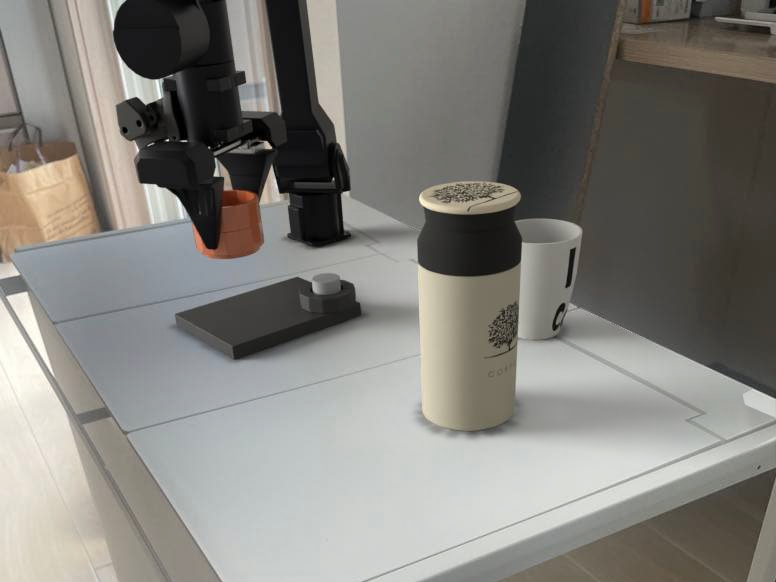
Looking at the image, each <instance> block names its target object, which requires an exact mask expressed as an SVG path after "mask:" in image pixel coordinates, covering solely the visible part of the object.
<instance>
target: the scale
mask: <svg viewBox="0 0 776 582" xmlns="http://www.w3.org/2000/svg"><path fill="white" fill-rule="evenodd" d="M340 283H341V292H338V293H335V294H329V295H318V294H314V293H313V286H312V281H309V280H307V279H304V278H302V277H299V276H295V277H292V278H288V279H285V280H282V281H279V282H276V283H272V284H268V285H266V286H261V287H258V288H256V289H252V290H249V291H246V292H242V293H239V294H236V295H233V296H229V297H226V298H222V299H219V300H216V301H212V302H210V303H206V304H202V305H200V306H197V307H196V306H195V307H193V308H190V309H187V310H183V311H180V312H176V313H174V319H175V324H176V327H177V328H179V329H181V330H183V331H185V332H186V333H188V334H189V335H191V336H193V337H195V338H196V339H198V340H200V341H202V342H203V343H204V344H207V345H208V346H210V347H212V348H214V349H215V350H217V351H219V352H221V353H222V354H224V355H226V356H228V357H229V358H231V359H232V360H237V359H240V358H244V357H246V356H248V355H252V354H254V353H257V352H260V351H263V350H266V349H268V348H271V347H275V346H277V345H280V344H282V343H286V342H289V341H292V340H295V339H297V338H301V337H303V336H306V335H308V334H311V333H315V332H317V331H321V330H324V329H326V328H329V327H332V326H335V325H337V324H340V323H344V322H346V321H349V320H352V319H355V318H358V317H360V316H362V306H361V302H359V301H357V296H356V287H355V284H354V283H353V282H350V281H348V280H346V279H340Z"/></svg>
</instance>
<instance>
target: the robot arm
mask: <svg viewBox="0 0 776 582" xmlns="http://www.w3.org/2000/svg"><path fill="white" fill-rule="evenodd" d="M264 4H265V10H266V11H265V12H266V17H267V25H268V31H269V38H270V45H271V49H272V58H273V65H274V71H275V78H276V85H277V86H276V87H277V92H278V98H279V99H278V100H279V105H280V114H279V113H278V112H277V111H263V110H261V111H260V110H259V111H258V110H242V105H241V97H240V91H239V87H240V86H243V85H245V84H247V76H246V70H236V62H235V54H234V48H233V42H232V33H231V27H230V20H229V19H230V18H229V12H228V5H227V0H124V2H122V3H121V4H120V6H118V9H117V10H116V12H115V16H114V20H113V30H112V38H113V43H114V45H115V49H116V52H117V53H118V56H119V57H120V59H121V61H122V62H123V63H124V65H126V66H127V68H128V69H129V70H131V71H132V72H133V73H134V74H135V75H137V76H140V77H141V78H143V79H147V80H152V81H153V80H154V81H156V80H157V81H158V80H160V79H162V80H163V81H162V83H161V89H162V90H161V91H162V96H163V97H161V98H159V99H157V100H154V101H152V102H149V103H147V104H146V103H144V101H142V99H140V98H139V97H138V96H135V97H130V98H128V99H125V100H122V101H121V102H119V103H117V104H115V113H116V120H117V125H118V128H119V134H120V136H122V137H123V138H124V139H125V140H126V141H129V142H133V141H134V143H135V145H136V147H137V149H138V152H137V153H136V155H135V157H134V159H133V164H134V168H135V173H136V176H137V181H138V183H139V184H141V185H156V187H158V188H161V189H166V190H167V191H169V192H170V193H172V194H173V195H174V196H175V197H176V198H177V199H178V200H179V202H180V204H181V205H182V206H183V208H184V209H185V211H186V213H187V215H188V217H189V218H190V221H191V220H192V222H193V224H194V226H195V228H196V230H197V232H198V234H199V235H200V237H201V239H202V241H203V243H204V245H205V247H206V248H207V249H210V250H216V249H217V248H218V243H219V236H220V226H221V214H222V202H223V191H224V190H225V176H217V175H216V176H215V172H216V169H217V164H216V160H217V161H218V162H219V163H220V164H221V166H222V167H223V168H224V169H225V170H226V171H227V173H228V178H229V182H230V186H231V190H246V191H251V192H254V193H256V194H257V195H258V197H259V204H261V203H260V202H261V200H262V197H263V193H264V189H265V186H266V183H267V180H268V177H269V174H270V171H271V169H272V170H273V174H274V178H275V182H276V186H277V190H278V193H279V194H280V195H284V194H288V199H289V204H288V205H287V214H288V221H289V230H290V232H288V233H287V234H286V236H287V238H288V239H290V240H293V241H296V242H299V243H300V244H304V245H306V246H308V247H312V248H315V247H319V246H324V245H326V244H330V243H334V242H337V241H340V240H344V239H348V238H351V237H352V232H350V231H348V230H345V226H344V214H343V213H344V212H343V201H342V194H343V193H346V192H347V193H348V192H351V190H352V185H351V174H350V167H349V164H348V161H347V159H346V157H345V154H344V151H343V149H342V146H341V144H340V143H339V142H338V141H337V134H336V129H335V124H334V122H333V121H332V119H331V118H330V117H329V115H328V114H327V113H326V110H324V108H323V107H322V106H321V103H320V101H319V94H318V86H317V85H318V84H317V78H316V77H317V76H316V68H315V61H314V53H313V44H312V36H311V28H310V27H311V26H310V17H309V10H308V2H307V0H264ZM265 142H267V143H268V145H269V146H270V147H271V148H266V146H265ZM192 222H191V223H192Z"/></svg>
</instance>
